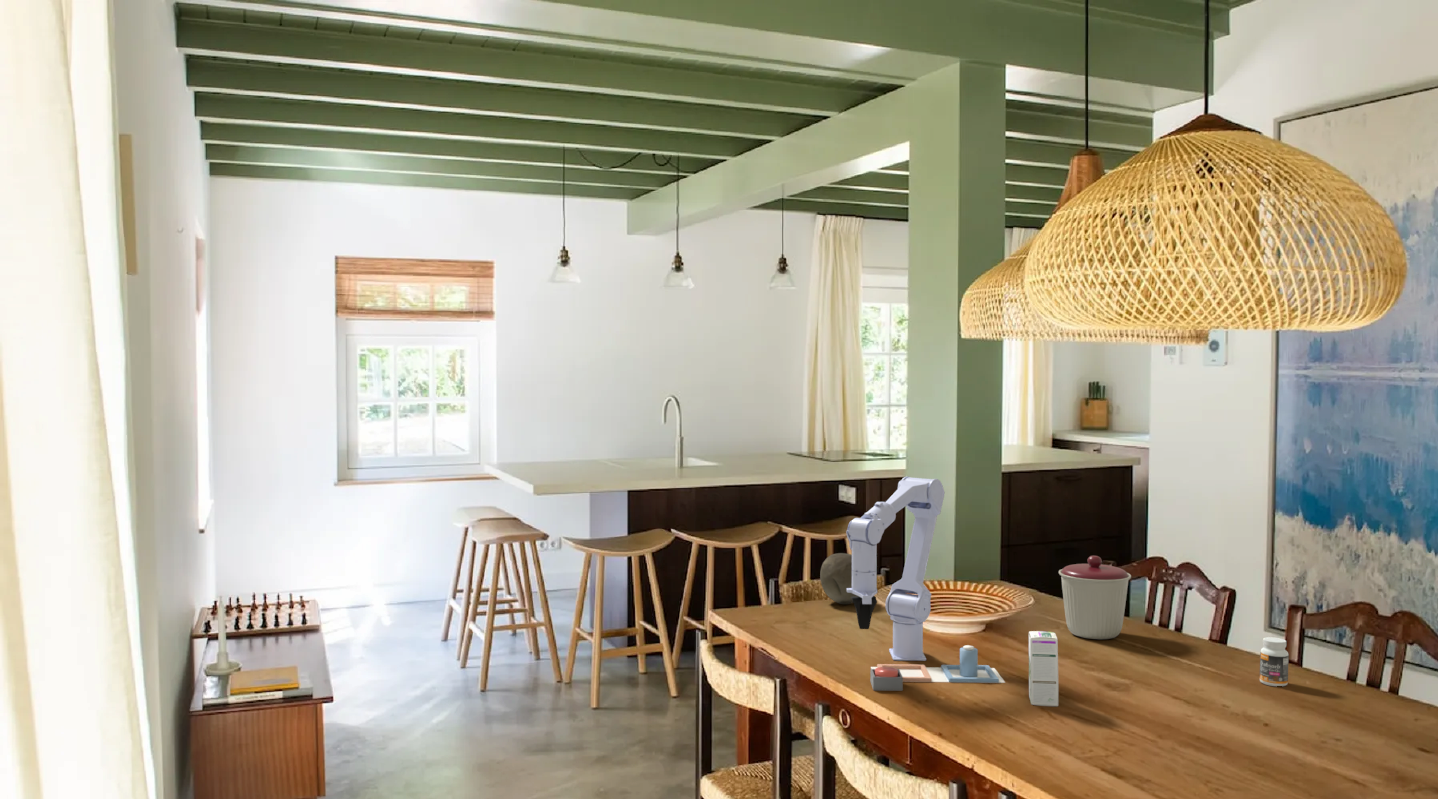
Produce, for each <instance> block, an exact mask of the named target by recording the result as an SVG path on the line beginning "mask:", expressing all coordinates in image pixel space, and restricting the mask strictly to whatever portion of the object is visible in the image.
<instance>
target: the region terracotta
mask: <svg viewBox="0 0 1438 799" xmlns="http://www.w3.org/2000/svg"><path fill="white" fill-rule="evenodd" d="M876 667H877V668H879V667H891V668H895V669H921V671H922V673H923V675H924V677H903V683H914V682H915V683H932V682H931V676H930V675H929V673H928V671H927V669H926V667H927V666H926V665H925V664H913V663H912V664H910V663H908V664H902V663H900V664H894V663H892V664H891V663H889V664H888V663H884V664H883V663H877V664H876Z"/></svg>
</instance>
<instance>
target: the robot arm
mask: <svg viewBox="0 0 1438 799" xmlns="http://www.w3.org/2000/svg"><path fill="white" fill-rule="evenodd" d="M945 493H946V491H945V489H944V485H943V483H942V481H941V480H940V479H938V478H924V477H922V478H921V477H911V476H904V477H902V479H901V480H899V481H898V483H897V489H896V490H895V491H894V492H893V494H892V495H891V496H890V497H889V498H888V499H887V500H885V501H876V502H875V503H874V505H873V507H871V508H870V509H869V510H868V511H867V512H864V514H863V515H862V516H861V517H854V518H853V519H852V520H850V521H849V523H848V525H847V529H846V530H845V533H846V537H847V540H848V544H849V545H848V546H849V549H850V550H851V555H852V588H847V592H848V593H853V594H855V595H857V596H858V597H851V598H852V601H853V603H852V604H854V607H855V608H854V609H855V611H856V612H855V613H856V617H857V623H858V624H857V625H858V628H859V629H860V630H869V629H870V626H871V620H872V616H873V611H874V609H875V607H876V605H877V603H878V600H877V597H876V596H875V595H877V594H878V588H877V582H878V581H877V574H878V573H877V567H878V566H877V557H878V556H877V555H878V553H877V551H878V550H877V544H879V543H880V542H881V540H882V536H883V534H884V532H885V530H886V529H887V528H888V527H889V526H891V524H892V523H893V522H895V521H896V517H897V515H896V514H897V513H899V511H901V510H902V509H904V508H905V507H906V509H907V510H908V512H910V513H911V514H913V516H914V522H913V526H912V530H911V534H910V540H909V544H908V550H907V554H906V558H905V563H904V567H903V572H902V575H901V576H902V577H901V579H899V580H897V581H896V582H894V583H892V585H891V587H890V591H889V593H888V595H887V597H886V599H885V610H886V613H887V615H888V616H890V617H889V618H890V619H889V620H891V621H892V648H888V651H889V653H890V656H891V659H892V660H893V661H917V662H918V661H919V662H920V661H921V662H923V661H924V662H925V661H927V658H926V656H925V655H926V654H924V647H923V646H924V644H923V642H924V641H923V640H924V636H923V634H924V633H923V632H924V631H923V630H924V628H923V627H924V626H923V625H924V622H926V620H928V618H929V616H930V614H931V606H932V605H931V599H932V593H931V592H930V590H929V589H928V587H927V586H926V585H925V584H924V581H925V580H924V579H925V576H926V572H927V566H928V561H929V557H930V552H931V548H932V542H933V538H934V534H935V528H936V525H937V520H938V516H939V515H940V514H941V512H942V508H943V502H944V498H945Z"/></svg>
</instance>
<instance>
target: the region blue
mask: <svg viewBox="0 0 1438 799" xmlns="http://www.w3.org/2000/svg"><path fill="white" fill-rule="evenodd" d="M940 668H941V669H942V670H943V672H944V674H945V675H946V677H947V679H948V681H949V682H948V683H978V682H999V679H998V677H997V676H996V675H995V673H994V672H993V671H992V669H991V668H992V667H990V665H989V664H988V665H987V664H983V665H982V664H978V670H986V672H987V673H988V675H989V676H990V677H991V678H982V677H953V676H952V675H951V673H950V671H949V670H948V669H960V664H941V666H940Z"/></svg>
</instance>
